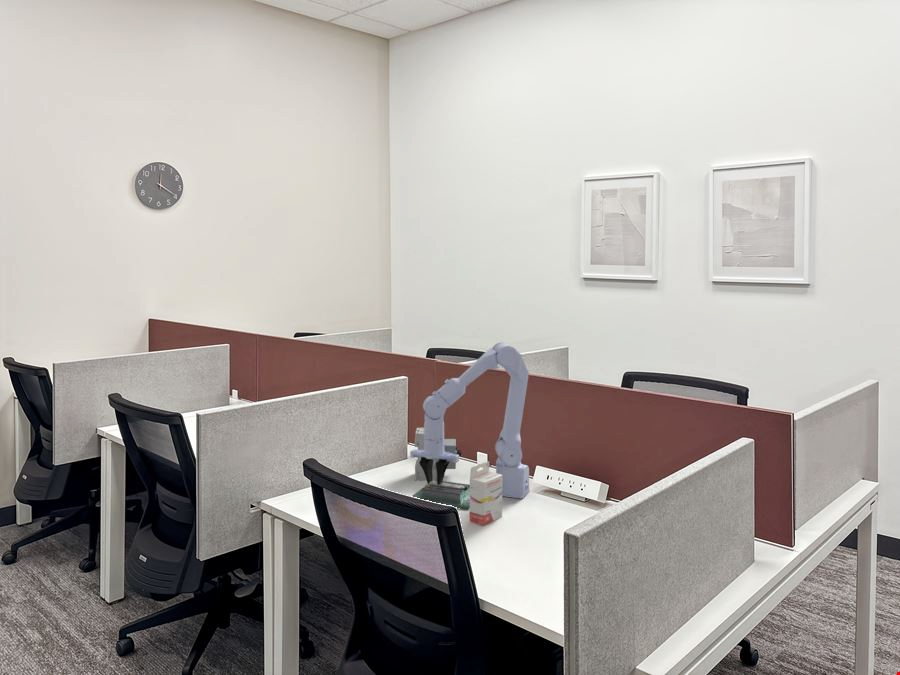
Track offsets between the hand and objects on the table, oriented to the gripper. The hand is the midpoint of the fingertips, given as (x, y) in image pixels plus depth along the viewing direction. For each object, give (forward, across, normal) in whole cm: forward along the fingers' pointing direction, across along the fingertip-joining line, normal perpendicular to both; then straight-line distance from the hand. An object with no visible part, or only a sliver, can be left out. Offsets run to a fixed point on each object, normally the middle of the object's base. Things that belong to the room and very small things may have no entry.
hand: (434, 483), depth 203 cm
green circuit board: (+4, +4, 0) cm, 5 cm away
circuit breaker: (+4, -6, +17) cm, 19 cm away
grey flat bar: (0, +4, 0) cm, 4 cm away
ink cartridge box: (+4, +20, -11) cm, 23 cm away
